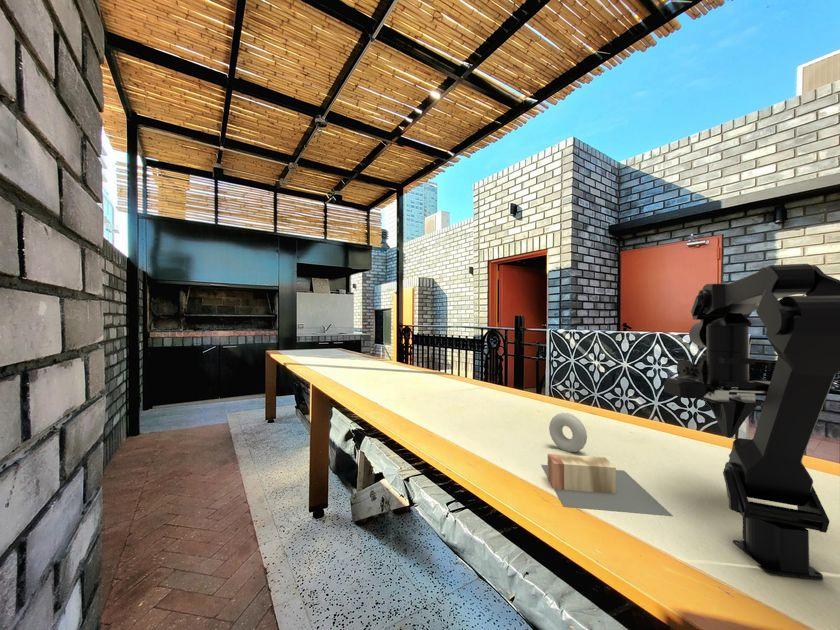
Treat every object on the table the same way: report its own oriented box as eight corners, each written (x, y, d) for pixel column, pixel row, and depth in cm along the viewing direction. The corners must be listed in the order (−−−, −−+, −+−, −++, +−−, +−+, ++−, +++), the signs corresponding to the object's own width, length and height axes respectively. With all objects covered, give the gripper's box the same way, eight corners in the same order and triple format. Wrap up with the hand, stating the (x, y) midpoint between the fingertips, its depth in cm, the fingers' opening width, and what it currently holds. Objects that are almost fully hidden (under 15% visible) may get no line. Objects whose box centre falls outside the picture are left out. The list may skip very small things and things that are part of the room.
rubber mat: (673, 519, 57) (673, 516, 57) (563, 509, 60) (563, 506, 60) (624, 472, 75) (624, 470, 75) (540, 466, 77) (540, 464, 77)
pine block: (615, 467, 65) (553, 463, 66) (615, 493, 64) (553, 488, 66) (605, 457, 70) (547, 453, 71) (605, 481, 69) (547, 477, 71)
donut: (546, 447, 90) (546, 409, 90) (553, 444, 92) (553, 408, 92) (582, 459, 82) (582, 418, 82) (589, 456, 84) (589, 416, 84)
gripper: (747, 349, 68) (748, 426, 67) (648, 347, 70) (648, 421, 70) (802, 354, 57) (803, 446, 56) (682, 351, 59) (682, 439, 59)
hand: (727, 436), depth 61 cm, fingers closed
